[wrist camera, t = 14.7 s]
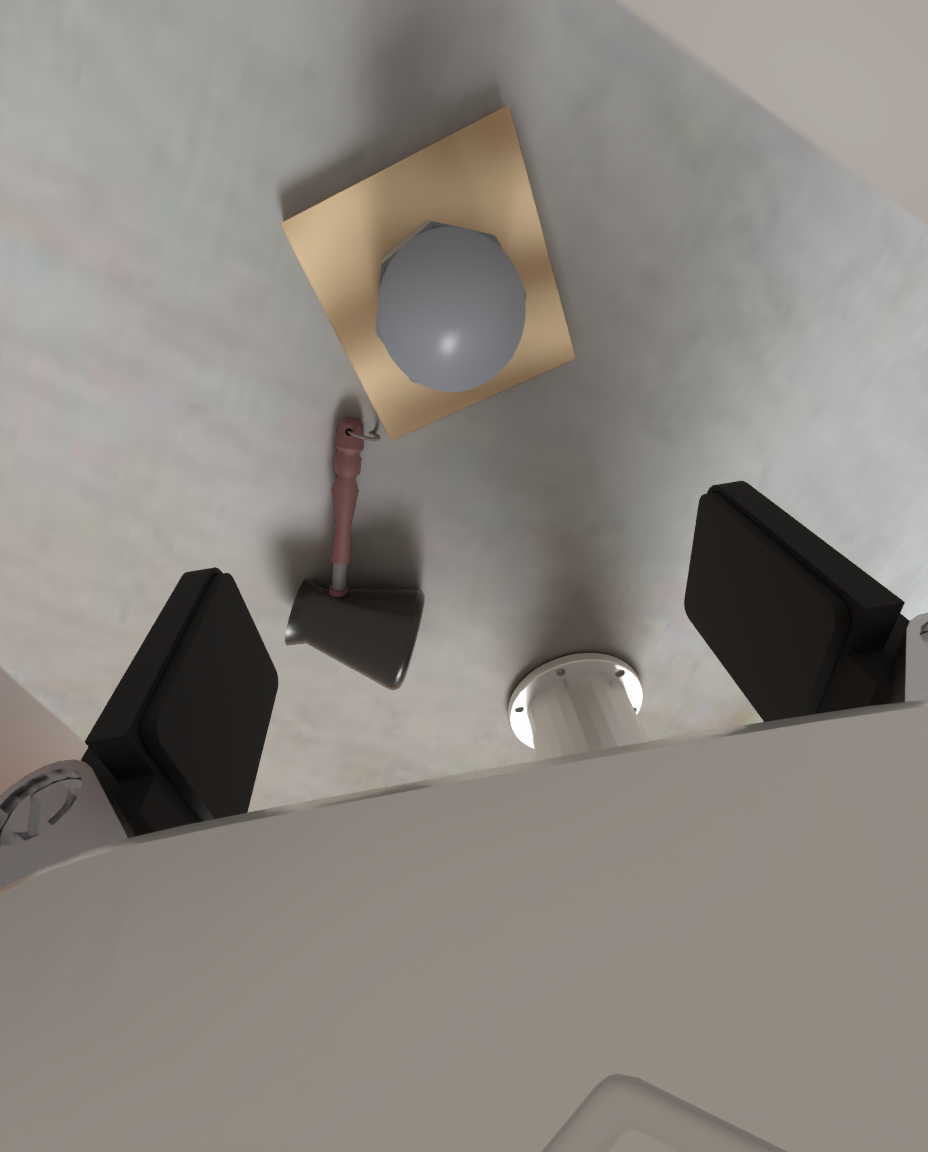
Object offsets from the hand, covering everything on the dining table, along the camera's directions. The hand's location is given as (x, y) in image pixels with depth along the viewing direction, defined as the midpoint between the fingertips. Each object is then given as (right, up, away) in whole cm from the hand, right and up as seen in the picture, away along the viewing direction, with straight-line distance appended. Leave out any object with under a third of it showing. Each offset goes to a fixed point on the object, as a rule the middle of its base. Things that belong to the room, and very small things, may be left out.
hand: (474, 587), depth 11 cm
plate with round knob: (-2, +16, +19) cm, 24 cm away
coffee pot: (-7, +3, +28) cm, 29 cm away
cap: (-1, +15, +17) cm, 22 cm away
